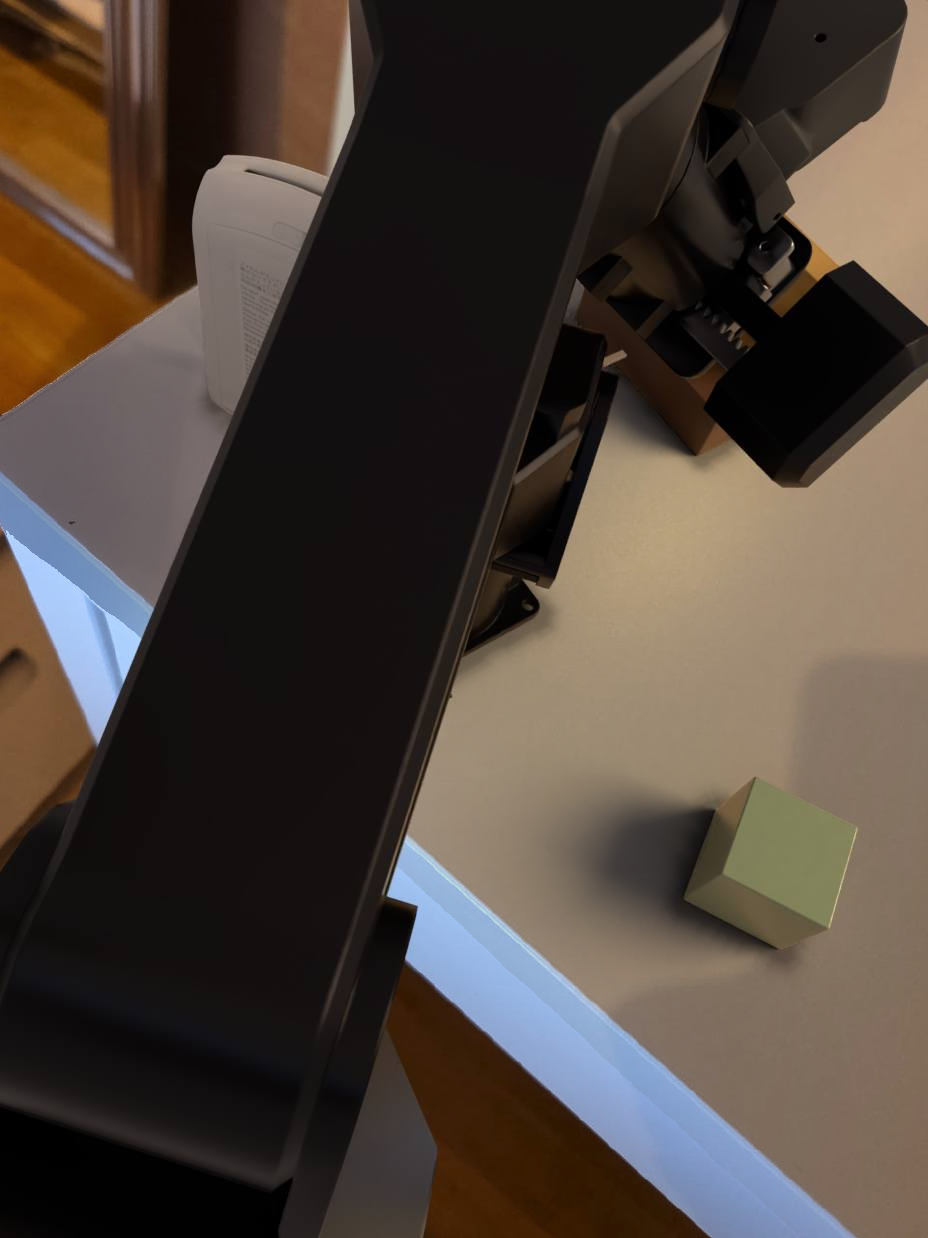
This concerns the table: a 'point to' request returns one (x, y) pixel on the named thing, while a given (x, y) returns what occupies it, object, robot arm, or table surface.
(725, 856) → the cube
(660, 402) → the block
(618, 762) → the table surface
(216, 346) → the photo printer
